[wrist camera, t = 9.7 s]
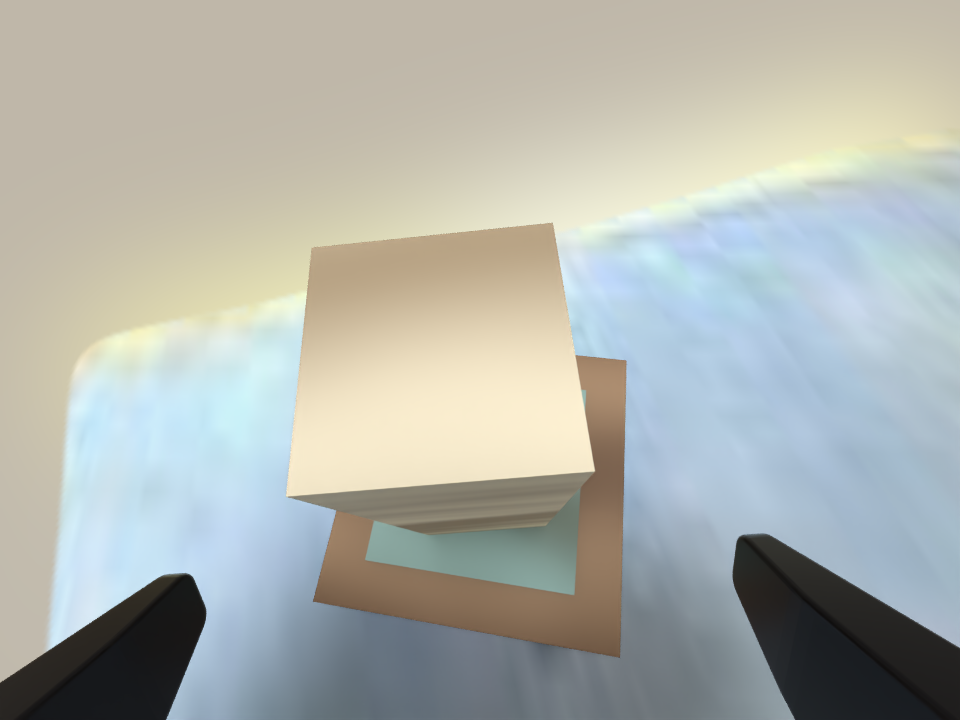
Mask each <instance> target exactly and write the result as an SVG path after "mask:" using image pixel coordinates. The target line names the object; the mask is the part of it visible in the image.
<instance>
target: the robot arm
mask: <svg viewBox="0 0 960 720" xmlns="http://www.w3.org/2000/svg"><path fill="white" fill-rule="evenodd" d="M733 583H734V587H735V590H736V592H737V594H738V597H739V599H740V601H741V604H742V606H743V608H744V610H745V613H746V615H747V617H748V619H749V622H750V624H751V626H752V629H753V631H754V633H755V635H756V638H757V640H758V642H759V644H760V647H761V649H762V651H763V654H764V656H765V658H766V660H767V663H768V665H769V667H770V669H771V672H772V674H773V676H774V678H775V681H776V683H777V685H778V687H779V689H780V691H781V693H782V695H783V697H784V699H785V701H786V703H787V705H788V707H789V709H790V711H791V713H792V714H793V716H794V718H795V720H960V648H959V647H957V646H956V645H954V644H952V643H951V642H949V641H947V640H946V639H944V638H942V637H941V636H939V635H937V634H936V633H934V632H932V631H930V630H929V629H927V628H925V627H924V626H922V625H920V624H919V623H917V622H915V621H914V620H912V619H910V618H909V617H907V616H905V615H904V614H902V613H900V612H898V611H897V610H895V609H893V608H892V607H890V606H888V605H887V604H885V603H883V602H882V601H880V600H878V599H877V598H875V597H873V596H872V595H870V594H868V593H866V592H865V591H863V590H861V589H860V588H858V587H856V586H855V585H853V584H851V583H850V582H848V581H846V580H845V579H843V578H841V577H840V576H838V575H836V574H835V573H833V572H831V571H829V570H828V569H826V568H824V567H823V566H821V565H819V564H818V563H816V562H814V561H813V560H811V559H809V558H808V557H806V556H804V555H803V554H801V553H799V552H797V551H796V550H794V549H792V548H791V547H789V546H787V545H786V544H784V543H782V542H781V541H779V540H777V539H776V538H774V537H772V536H770V535H768V534H747V535H742V536H740V537H739V538H738V540H737V543H736V550H735V558H734V565H733ZM205 620H206V607H205V604H204V602H203V600H202V597H201V595H200V592H199V590H198V587H197V585H196V583H195V580H194V578H193V577H192V576H191V575H190V574H187V573H179V574H167V575H163V576H161V577H159V578H157V579H156V580H154V581H153V582H151V583H150V584H148V585H147V586H145V587H144V588H142V589H141V590H139V591H138V592H136V593H135V594H133V595H132V596H130V597H129V598H127V599H126V600H124V601H123V602H121V603H120V604H118V605H117V606H115V607H114V608H112V609H111V610H109V611H108V612H106V613H105V614H103V615H102V616H100V617H99V618H97V619H95V620H94V621H92V622H91V623H89V624H88V625H86V626H85V627H83V628H82V629H80V630H79V631H77V632H76V633H74V634H73V635H71V636H70V637H68V638H67V639H65V640H64V641H62V642H61V643H59V644H58V645H56V646H55V647H53V648H52V649H50V650H49V651H47V652H46V653H44V654H43V655H41V656H40V657H38V658H37V659H35V660H34V661H32V662H31V663H29V664H28V665H26V666H25V667H23V668H22V669H20V670H19V671H17V672H16V673H15V674H13V675H11V676H10V677H8V678H7V679H5V680H4V681H2V682H1V683H0V720H166V719H167V716H168V714H169V712H170V709H171V707H172V704H173V702H174V699H175V697H176V694H177V692H178V689H179V687H180V684H181V682H182V680H183V677H184V675H185V672H186V670H187V667H188V665H189V662H190V660H191V657H192V655H193V652H194V650H195V647H196V645H197V642H198V640H199V637H200V635H201V632H202V630H203V627H204V624H205Z"/></svg>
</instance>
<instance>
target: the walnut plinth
mask: <svg viewBox="0 0 960 720" xmlns="http://www.w3.org/2000/svg"><path fill="white" fill-rule="evenodd" d="M575 357H576V362H577V368H578V374H579V380H580V386H581V392H582V398H583V404H584V410H585V415H586V421H587V427H588V433H589V439H590V445H591V451H592V457H593V462H594V468H595V472H594V473H593V474H592V475H591V476H590V477H589V479H588V480H587V481H586V482H585V483H584V484H583V485H582V486H581V487H580V488H579V490H578V491H577V492H576V493H575V494H574V495H573V496H572V497H571V498H570V500H569V501H568V502H567V503H566V504H565V505H564V506H563V507H562V508H561V509H560V511H559V512H558V513H557V514H556V515H555V516H554V517H553V518H552V519H551V520H550V522H549V523H548V524H547V525H546V526H541V527H528V528H516V529H503V530H490V531H477V532H464V533H451V534H438V535H426V534H422V533H418V532H415V531H411V530H407V529H404V528H400V527H396V526H393V525H389V524H385V523H381V522H378V521H374V520H370V519H367V518H363V517H359V516H356V515H352V514H348V513H345V512H341V511H336V515H335V519H334V522H333V526H332V530H331V534H330V538H329V542H328V546H327V549H326V553H325V557H324V561H323V565H322V569H321V572H320V576H319V580H318V584H317V588H316V592H315V596H314V599H313V602H318V603H324V604H329V605H335V606H340V607H346V608H351V609H357V610H362V611H368V612H373V613H379V614H384V615H390V616H395V617H401V618H406V619H411V620H417V621H422V622H428V623H433V624H439V625H444V626H450V627H455V628H461V629H466V630H472V631H477V632H483V633H488V634H494V635H499V636H505V637H510V638H515V639H521V640H526V641H532V642H537V643H543V644H548V645H554V646H559V647H565V648H570V649H576V650H581V651H587V652H592V653H598V654H603V655H609V656H614V657H619V658H620V634H621V588H622V541H623V495H624V449H625V402H626V360H616V359H606V358H596V357H587V356H577V355H575Z"/></svg>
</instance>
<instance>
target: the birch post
mask: <svg viewBox="0 0 960 720" xmlns="http://www.w3.org/2000/svg"><path fill="white" fill-rule="evenodd" d="M594 472H595V468H594V462H593V457H592V451H591V445H590V439H589V433H588V427H587V421H586V415H585V410H584V404H583V398H582V392H581V386H580V380H579V374H578V368H577V362H576V357H575V351H574V345H573V339H572V333H571V327H570V321H569V315H568V310H567V304H566V298H565V292H564V286H563V280H562V274H561V268H560V263H559V257H558V251H557V245H556V239H555V233H554V228H553V223H547V224H537V225H527V226H519V227H508V228H498V229H488V230H479V231H469V232H459V233H450V234H440V235H430V236H421V237H411V238H401V239H391V240H383V241H373V242H362V243H353V244H344V245H334V246H324V247H314V248H312V251H311V261H310V270H309V280H308V289H307V299H306V308H305V318H304V328H303V337H302V347H301V357H300V366H299V376H298V386H297V395H296V405H295V415H294V424H293V434H292V444H291V453H290V463H289V473H288V482H287V492H286V497H289V498H293V499H297V500H300V501H304V502H308V503H311V504H315V505H319V506H322V507H326V508H330V509H334V510H337V511H341V512H345V513H348V514H352V515H356V516H359V517H363V518H367V519H370V520H374V521H378V522H381V523H385V524H389V525H393V526H396V527H400V528H404V529H407V530H411V531H415V532H418V533H422V534H426V535H438V534H451V533H464V532H477V531H490V530H503V529H516V528H528V527H541V526H546V525H547V524H548V523H549V522H550V520H551V519H552V518H553V517H554V516H555V515H556V514H557V513H558V512H559V511H560V509H561V508H562V507H563V506H564V505H565V504H566V503H567V502H568V501H569V500H570V498H571V497H572V496H573V495H574V494H575V493H576V492H577V491H578V490H579V488H580V487H581V486H582V485H583V484H584V483H585V482H586V481H587V480H588V479H589V477H590V476H591V475H592V474H593V473H594Z"/></svg>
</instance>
